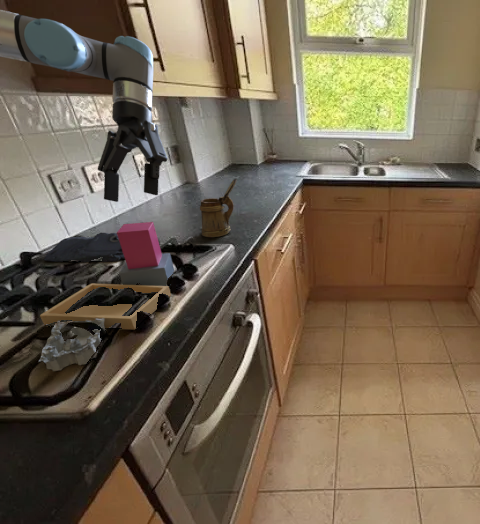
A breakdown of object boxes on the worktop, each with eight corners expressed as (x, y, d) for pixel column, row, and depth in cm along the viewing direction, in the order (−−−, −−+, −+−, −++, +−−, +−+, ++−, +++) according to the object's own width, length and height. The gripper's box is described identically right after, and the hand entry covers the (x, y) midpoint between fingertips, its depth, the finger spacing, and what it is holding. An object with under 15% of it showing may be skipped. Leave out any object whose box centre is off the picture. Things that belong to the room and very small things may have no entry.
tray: (44, 326, 64) (39, 315, 63) (95, 293, 76) (91, 283, 74) (134, 329, 64) (130, 318, 63) (171, 295, 75) (168, 286, 74)
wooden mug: (244, 234, 112) (237, 180, 104) (200, 238, 107) (189, 182, 99) (244, 226, 119) (236, 175, 111) (202, 229, 115) (192, 177, 107)
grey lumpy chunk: (65, 336, 62) (57, 318, 60) (113, 328, 64) (107, 310, 63) (38, 376, 53) (27, 356, 51) (95, 364, 55) (87, 345, 54)
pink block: (128, 269, 76) (116, 232, 72) (134, 259, 81) (123, 224, 77) (158, 265, 78) (148, 229, 74) (162, 255, 83) (153, 221, 79)
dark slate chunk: (77, 241, 102) (72, 227, 100) (153, 241, 104) (149, 226, 102) (37, 263, 88) (30, 246, 86) (126, 261, 90) (121, 245, 88)
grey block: (125, 292, 76) (118, 273, 74) (134, 275, 84) (128, 257, 82) (169, 286, 79) (164, 267, 77) (174, 270, 87) (169, 252, 85)
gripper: (186, 104, 76) (184, 194, 75) (115, 125, 85) (112, 206, 84) (154, 86, 69) (152, 185, 68) (81, 111, 78) (77, 199, 77)
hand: (130, 197), depth 76 cm, fingers open, 13 cm apart
